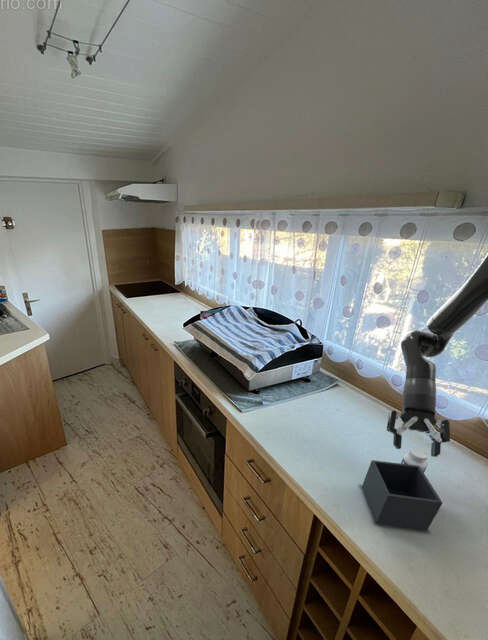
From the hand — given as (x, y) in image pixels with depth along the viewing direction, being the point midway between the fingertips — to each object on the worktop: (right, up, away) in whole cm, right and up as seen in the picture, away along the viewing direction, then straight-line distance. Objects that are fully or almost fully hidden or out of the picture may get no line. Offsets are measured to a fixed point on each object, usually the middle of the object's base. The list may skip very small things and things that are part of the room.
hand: (415, 452), depth 84 cm
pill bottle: (0, -8, +3) cm, 9 cm away
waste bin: (-10, -13, -6) cm, 17 cm away
